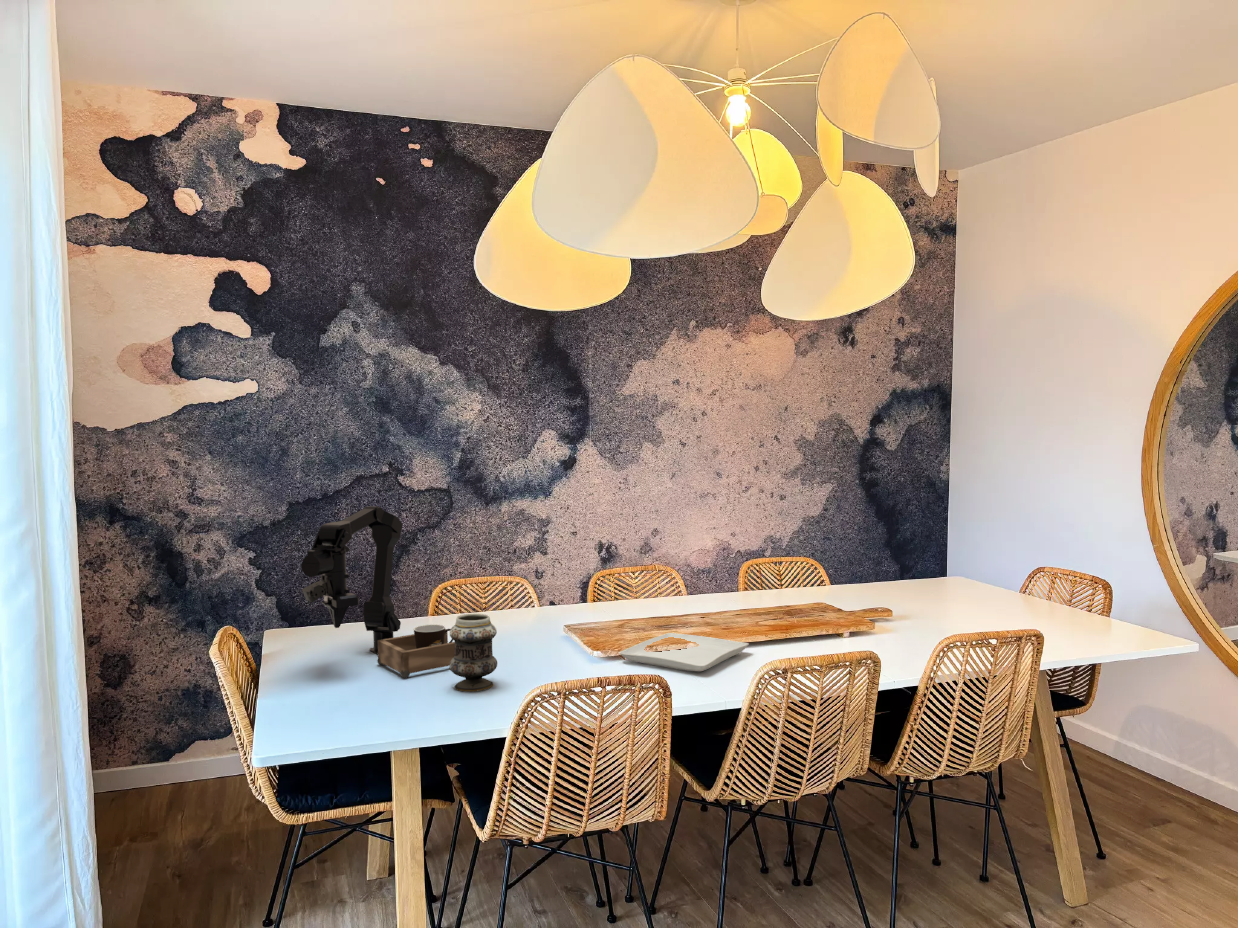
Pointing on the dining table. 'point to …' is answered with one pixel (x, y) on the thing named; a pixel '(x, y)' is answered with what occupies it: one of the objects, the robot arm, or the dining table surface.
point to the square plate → (686, 652)
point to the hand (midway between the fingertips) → (336, 627)
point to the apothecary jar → (473, 651)
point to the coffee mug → (429, 635)
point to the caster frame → (413, 654)
